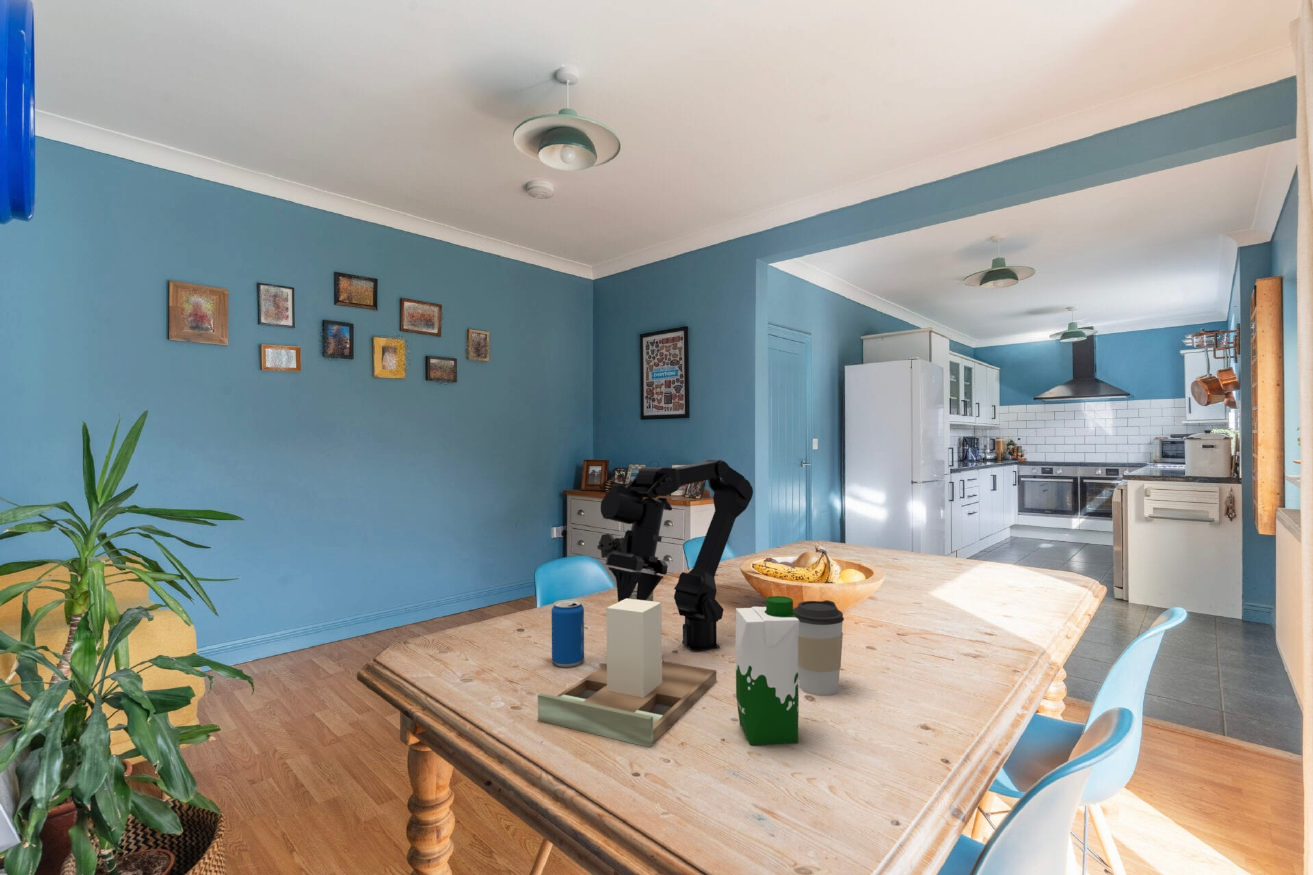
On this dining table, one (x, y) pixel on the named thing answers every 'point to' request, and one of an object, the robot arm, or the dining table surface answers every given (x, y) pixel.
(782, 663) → the milk carton
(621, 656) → the cream block
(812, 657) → the coffee cup
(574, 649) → the beverage can
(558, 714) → the tray
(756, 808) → the dining table surface
